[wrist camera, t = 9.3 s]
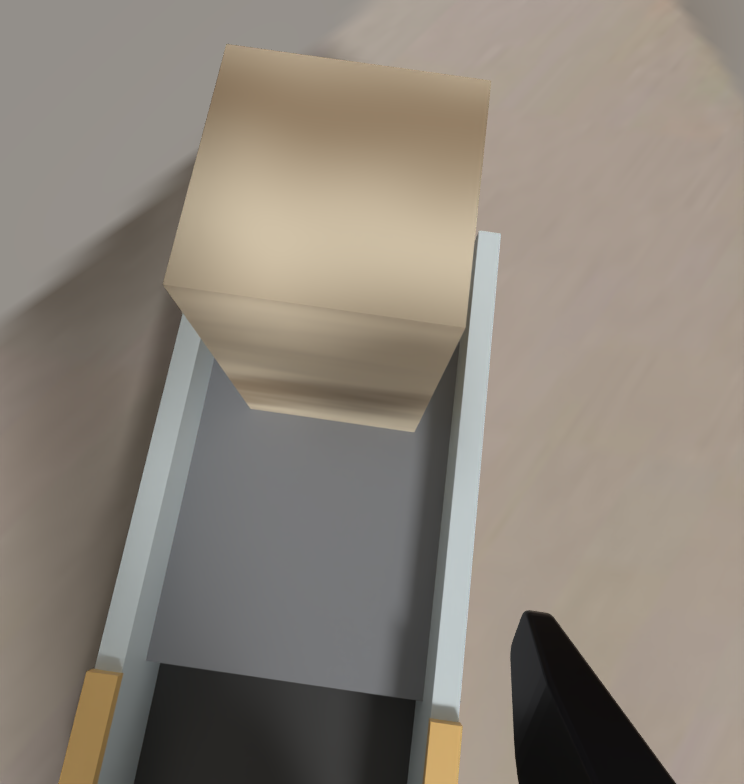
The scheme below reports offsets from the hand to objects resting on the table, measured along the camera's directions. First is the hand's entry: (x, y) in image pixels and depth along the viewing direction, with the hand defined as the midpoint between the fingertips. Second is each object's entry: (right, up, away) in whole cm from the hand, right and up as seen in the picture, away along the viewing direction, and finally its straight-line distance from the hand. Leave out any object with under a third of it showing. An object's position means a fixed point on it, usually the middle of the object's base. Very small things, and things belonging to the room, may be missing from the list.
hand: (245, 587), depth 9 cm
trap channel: (0, -3, +12) cm, 13 cm away
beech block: (+1, +5, +12) cm, 13 cm away
